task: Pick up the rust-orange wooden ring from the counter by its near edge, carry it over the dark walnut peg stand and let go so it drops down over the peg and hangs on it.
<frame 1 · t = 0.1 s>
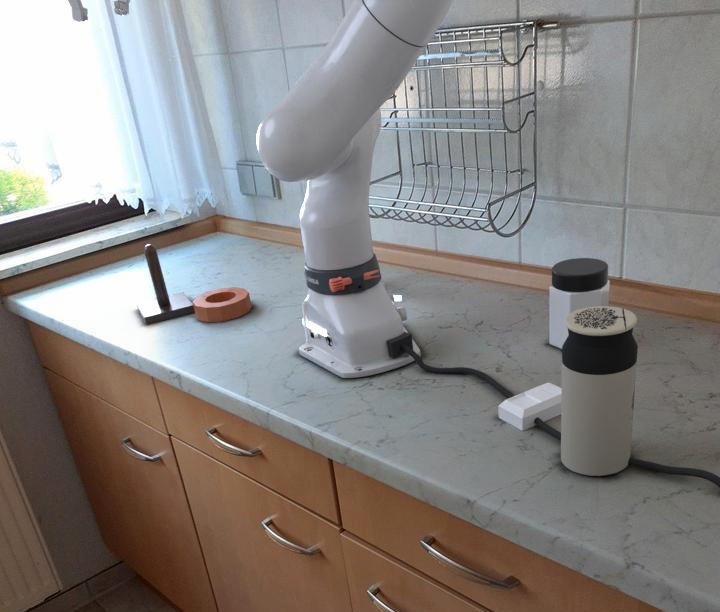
hand: (101, 17, 125), 52 cm above the worktop, tool tilted 20°, fingers open, 8 cm apart
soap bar: (536, 414, 106), on the worktop
jar: (578, 342, 124), on the worktop
travel mug: (594, 461, 95), on the worktop
peg stand: (166, 311, 161), on the worktop
ring: (224, 311, 157), on the worktop
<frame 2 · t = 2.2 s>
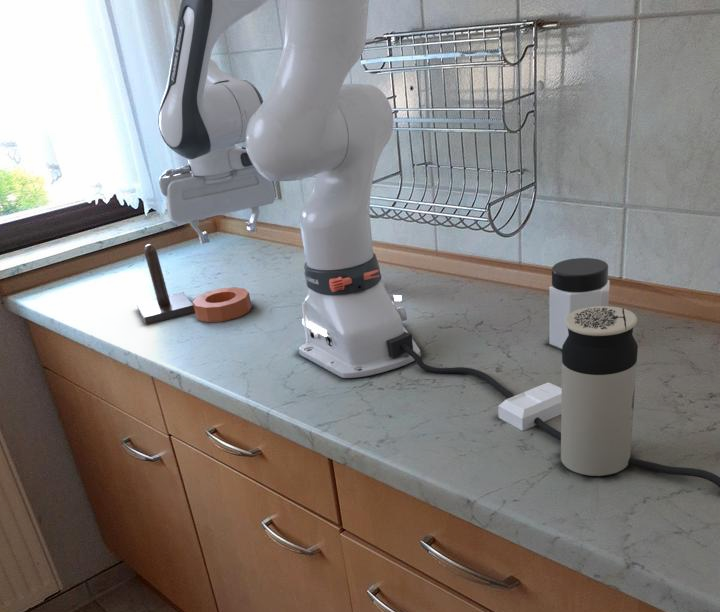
hand: (228, 237, 150), 14 cm above the worktop, tool pointing down, fingers open, 8 cm apart
nothing on the worktop moved.
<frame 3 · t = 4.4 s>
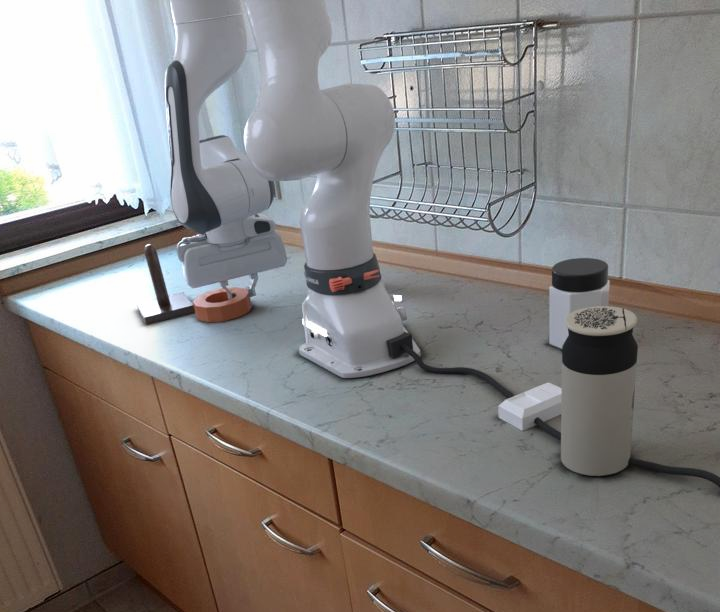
hand: (242, 298, 157), 2 cm above the worktop, tool pointing down, fingers closed on ring, 2 cm apart
ring: (224, 311, 157), on the worktop, touching gripper
everything else where it was.
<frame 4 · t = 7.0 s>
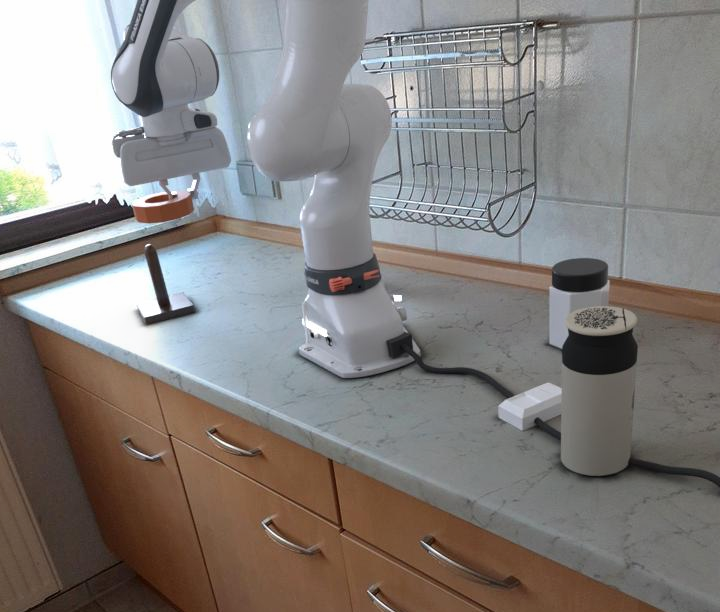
hand: (184, 201, 150), 21 cm above the worktop, tool pointing down, fingers closed on ring, 2 cm apart
ring: (165, 214, 150), point 19 cm above the worktop, touching gripper
everything else where it was.
when the fingers open (13 cm above the worktop, at t = 10.1 s): ring drops 9 cm, resting on peg stand.
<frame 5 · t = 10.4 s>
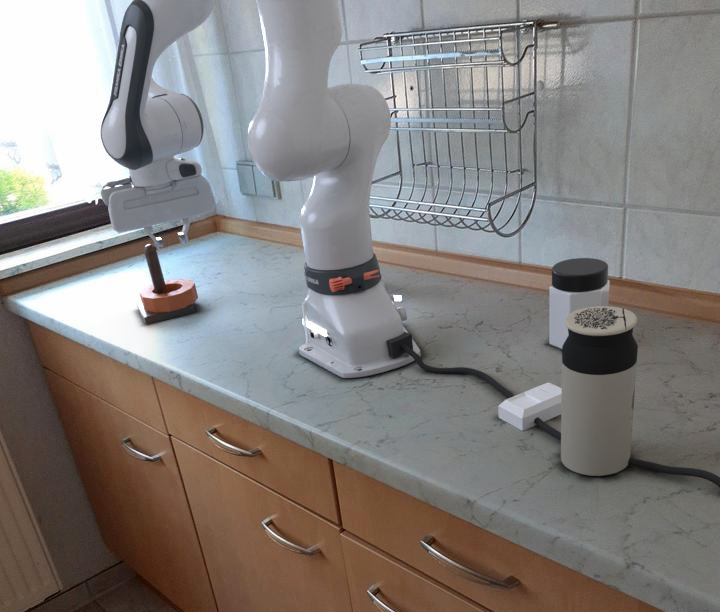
hand: (172, 245, 156), 13 cm above the worktop, tool pointing down, fingers open, 4 cm apart
ring: (171, 302, 161), point 1 cm above the worktop, touching peg stand
everything else where it was.
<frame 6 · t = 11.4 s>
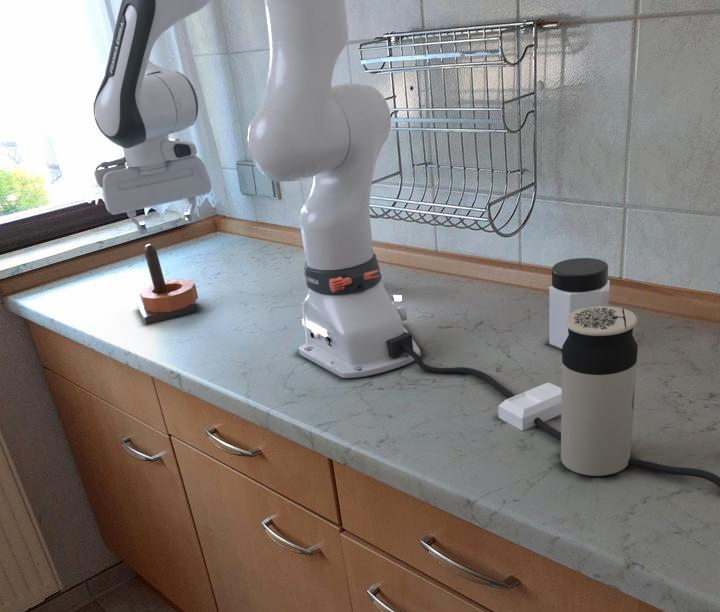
hand: (167, 227, 154), 16 cm above the worktop, tool pointing down, fingers open, 8 cm apart
nothing on the worktop moved.
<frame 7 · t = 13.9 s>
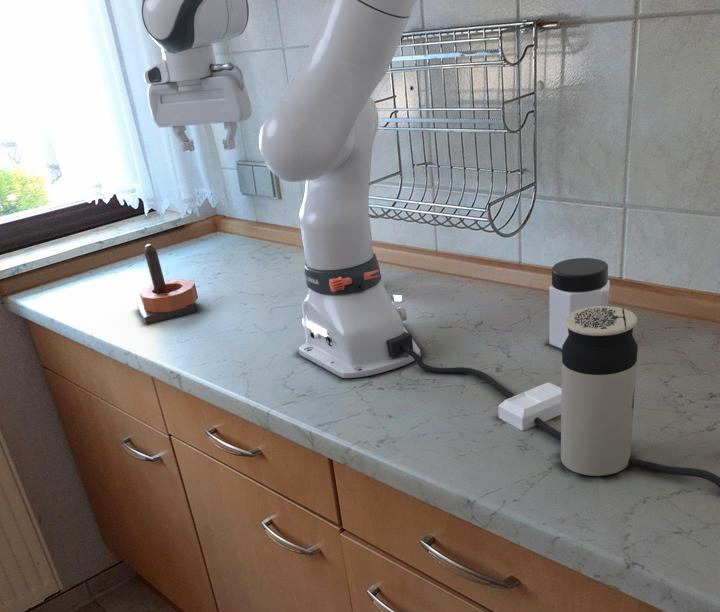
hand: (209, 150, 146), 29 cm above the worktop, tool pointing down, fingers open, 8 cm apart
nothing on the worktop moved.
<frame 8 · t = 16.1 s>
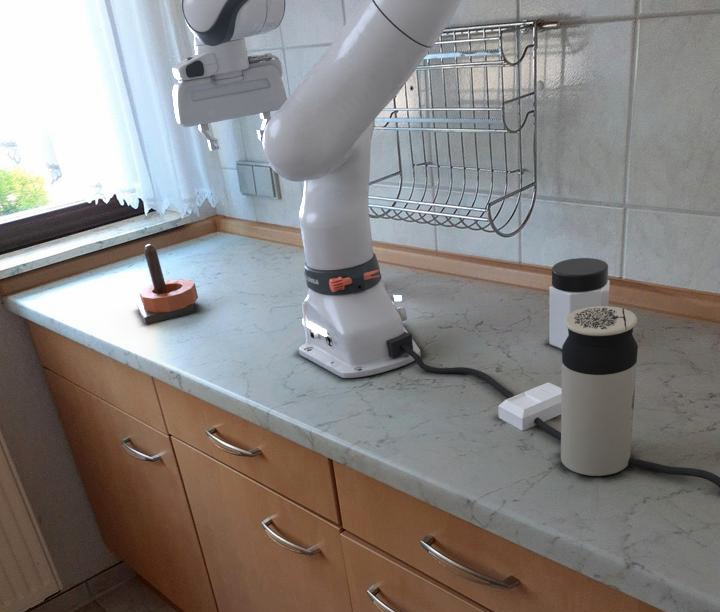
hand: (239, 144, 145), 29 cm above the worktop, tool pointing down, fingers open, 8 cm apart
nothing on the worktop moved.
at the end: ring 1.4 cm from the peg stand (horizontally); ring point 1.5 cm above the worktop; the gripper is holding nothing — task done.
